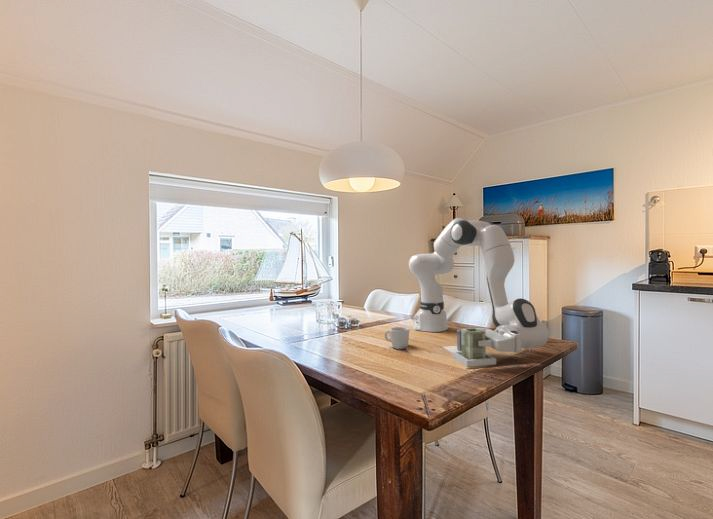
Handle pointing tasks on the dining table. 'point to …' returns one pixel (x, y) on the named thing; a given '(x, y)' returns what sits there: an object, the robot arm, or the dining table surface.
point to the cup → (398, 337)
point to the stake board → (451, 348)
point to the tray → (474, 360)
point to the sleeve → (472, 343)
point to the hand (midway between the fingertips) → (471, 340)
